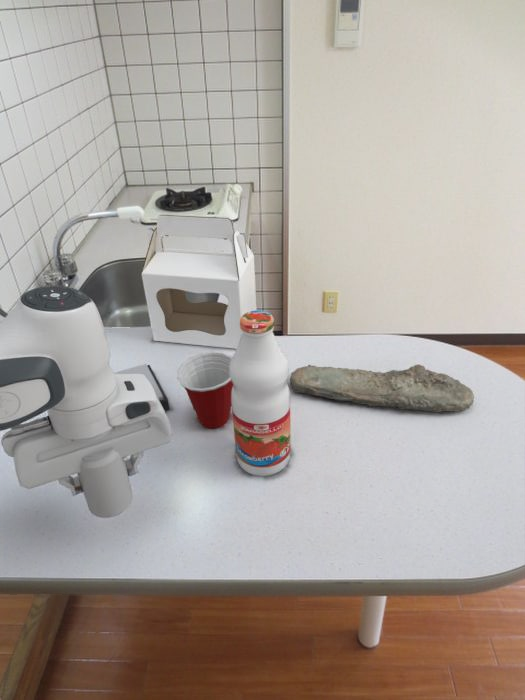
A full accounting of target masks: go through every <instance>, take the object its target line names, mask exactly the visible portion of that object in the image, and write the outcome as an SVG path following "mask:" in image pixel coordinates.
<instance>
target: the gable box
mask: <svg viewBox="0 0 525 700" xmlns="http://www.w3.org/2000/svg"><path fill="white" fill-rule="evenodd" d="M147 236H148V247H147V251H146V254H145V259H144V261H143V265H142V269H141V273H140V274H141V275H140V276H141V279H142V285H143V291H144V296H145V302H146V306H147V313H148V317H149V324H150V328H151V329H150V330H151V334H152V338H153V341H154V342H163V343H171V344H173V343H174V344H183V345H191V346H192V345H193V346H204V347H213V348H214V347H215V348H222V349H223V348H224V349H233V350H234V349H235V350H237V347H238V344H239V341H240V338H241V335H242V331H241V329H240V318H241V317H242V315H244V314H245V313H247V312H250V311H257V310H258V309H257V295H256V294H257V293H256V292H257V291H256V269H255V254H254V253H253V251H252V250H251V248H250V247H249V245H248V244H247V242H246V235H245V232H244V233H243V232H239V231H238V230H235V228H234V220H232V219H230V218H229V217H220V216H218V217H216V216H199V215H197V216H196V215H176V214H175V215H174V214H173V215H172V214H160V215H158V216H157V218H156V227H155V228H151V227H150V228H147ZM164 237H180V238H197V239H215V240H225V241H226V240H228V241H229V242H230V243H231V246H232V247H231V248H232V251H220V250H219V251H216V250H202V249H187V248H186V249H184V248H169V247H164V241H163V238H164ZM186 292H187V293H188V292H189V293H194V294H218V295H221V296H224V297H225V298H226V299H227V301H228V304H227V303H223V302H219V301H214V300H213V301H212V300H208V301H201V302H192V301H189V300H188V299H187V297H186Z"/></svg>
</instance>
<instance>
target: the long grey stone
mask: <svg viewBox="0 0 525 700" xmlns="http://www.w3.org/2000/svg"><path fill="white" fill-rule="evenodd" d="M288 379H289V386H290V388H292V390H293V391H294V392H297V393H299V394H300V393H302V394H307V395H308V394H309V395H311V396H315V397H323V398H326V399H333V400H335V401H338V402H339V401H340V402H342V401H345V402H347V401H348V402H351V403H355V404H359V405H361V404H363V405H367V406H368V407H376V406H377V407H379V406H382V407H391V408H399V410H412V411H413V410H417V411H427V412H435V413H442V412H458V411H464V410H468V409H470V408H471V407H472V406H473V404H474V399H475V396H474V391H473V390H472V389H471V388H470V387H469V386H467V385H465V384H462V383H461V381H460V380H459V379H455V378H453V376H452V377H451V376H450V375H448V374H444V373H441V372H439V373H438V372H436V371H432V370H430V369H426V367H425V365H422V364H414V365H413V366H410V367H409V368H407V369H402V370H396V369H392V370H389V371H385V372H381V371H372V370H366V369H359V368H357V369H354V368H353V369H351V368H344V367H333V366H317V365H312V364H308V365H307V366H305V365H304V366H302V367H297V368H296V369H295V370H293V371H292V372H291V374H290V378H288Z"/></svg>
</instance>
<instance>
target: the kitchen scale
mask: <svg viewBox="0 0 525 700" xmlns="http://www.w3.org/2000/svg"><path fill="white" fill-rule="evenodd" d="M114 374H143V375H145V376H146V378H147V379H148V380H149V382H150V383H151V385H152V387H153V389H154V391H155V393H156V396H157V397H158V399H159V401H160V403H161V405H162V407H163V409H164V411H165V412H166V411H169V410H170V404H169V400H168V397H167V395H166V394H165V391H164V389H163V387H162V386H161V384H160V382H159V381H158V379H157V376H156V374H155V372H154V371H153V369H152V367H151V365H150V364H147V363H143V364H140V365H137V366H133V367H130V368H127V369H123V370H120V371H116V372H114Z"/></svg>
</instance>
